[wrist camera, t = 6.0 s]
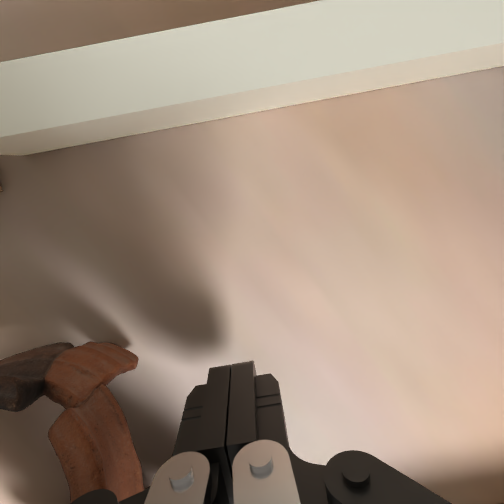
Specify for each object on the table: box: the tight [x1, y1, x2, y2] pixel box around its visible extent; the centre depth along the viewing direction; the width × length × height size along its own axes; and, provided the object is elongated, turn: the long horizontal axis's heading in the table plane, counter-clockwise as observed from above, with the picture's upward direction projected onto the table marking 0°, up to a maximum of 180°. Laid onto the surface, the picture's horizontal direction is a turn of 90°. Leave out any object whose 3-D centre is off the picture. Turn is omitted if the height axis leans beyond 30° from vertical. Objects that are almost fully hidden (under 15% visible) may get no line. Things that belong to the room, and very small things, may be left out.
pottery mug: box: [0, 342, 144, 503], centre depth 12 cm, size 12×10×8 cm
